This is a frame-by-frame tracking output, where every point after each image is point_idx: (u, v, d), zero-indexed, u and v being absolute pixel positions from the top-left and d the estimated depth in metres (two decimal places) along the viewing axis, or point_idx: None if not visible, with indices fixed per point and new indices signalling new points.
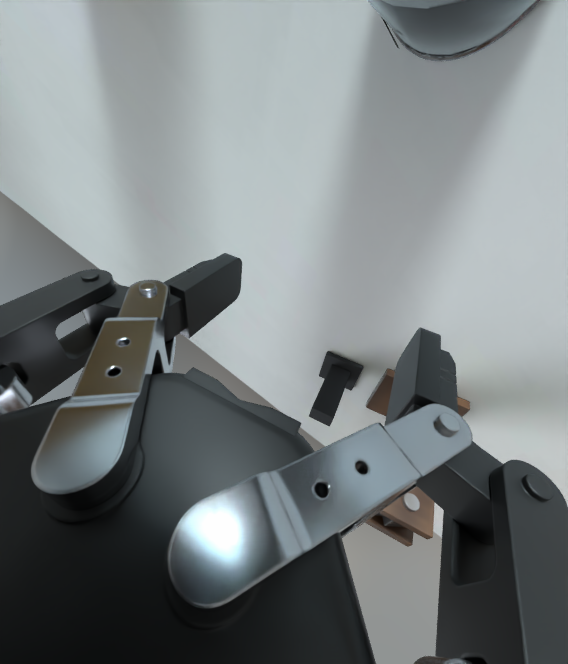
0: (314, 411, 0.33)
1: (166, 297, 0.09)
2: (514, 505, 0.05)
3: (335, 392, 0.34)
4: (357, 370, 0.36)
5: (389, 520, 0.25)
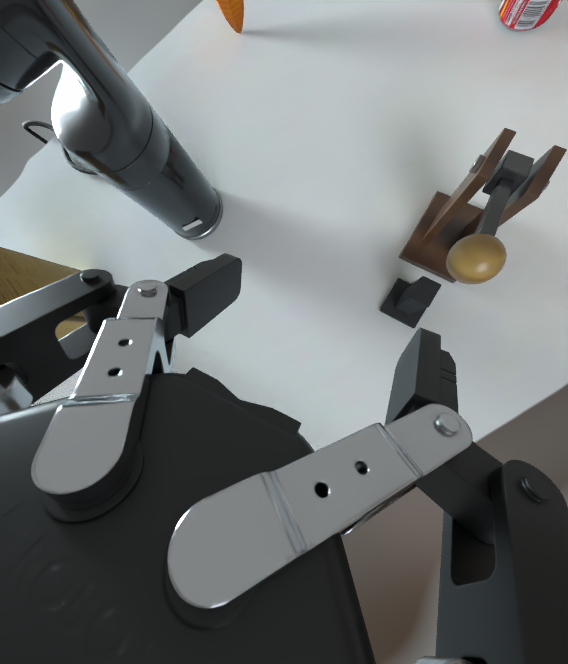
0: (417, 296, 0.30)
1: (166, 297, 0.09)
2: (514, 505, 0.05)
3: (409, 289, 0.33)
4: (401, 283, 0.38)
5: (508, 171, 0.22)
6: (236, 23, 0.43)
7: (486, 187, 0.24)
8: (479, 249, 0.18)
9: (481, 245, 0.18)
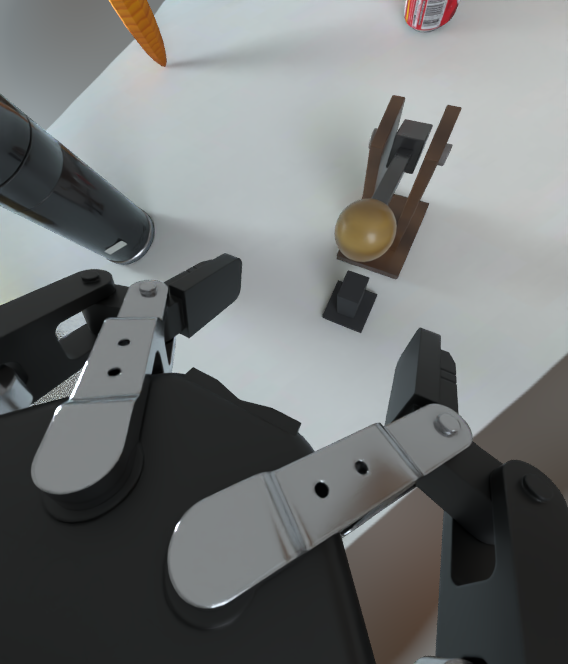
0: (344, 293, 0.26)
1: (166, 297, 0.09)
2: (514, 505, 0.05)
3: None
4: (341, 285, 0.34)
5: (403, 138, 0.20)
6: (158, 57, 0.44)
7: (388, 161, 0.21)
8: (357, 214, 0.15)
9: (359, 209, 0.15)
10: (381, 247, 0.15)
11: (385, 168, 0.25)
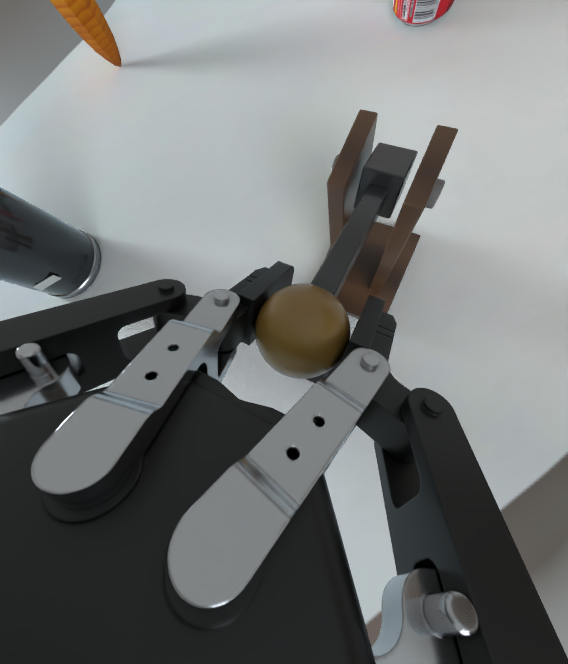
0: None
1: (234, 310, 0.09)
2: (410, 416, 0.07)
3: None
4: None
5: (373, 173, 0.14)
6: (109, 55, 0.38)
7: (356, 201, 0.15)
8: (279, 320, 0.09)
9: (282, 311, 0.09)
10: (323, 368, 0.09)
11: None
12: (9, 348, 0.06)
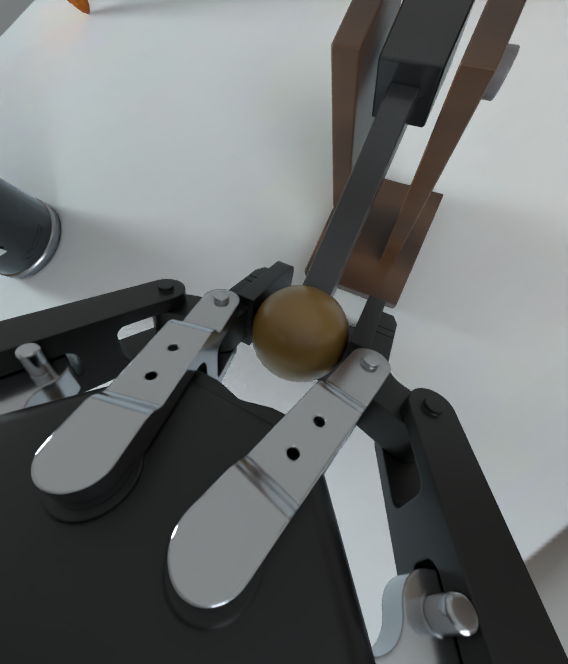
0: None
1: (234, 310, 0.09)
2: (411, 416, 0.07)
3: None
4: None
5: (395, 64, 0.09)
6: None
7: (374, 107, 0.11)
8: (267, 346, 0.09)
9: (270, 337, 0.09)
10: (319, 377, 0.10)
11: None
12: (9, 348, 0.06)
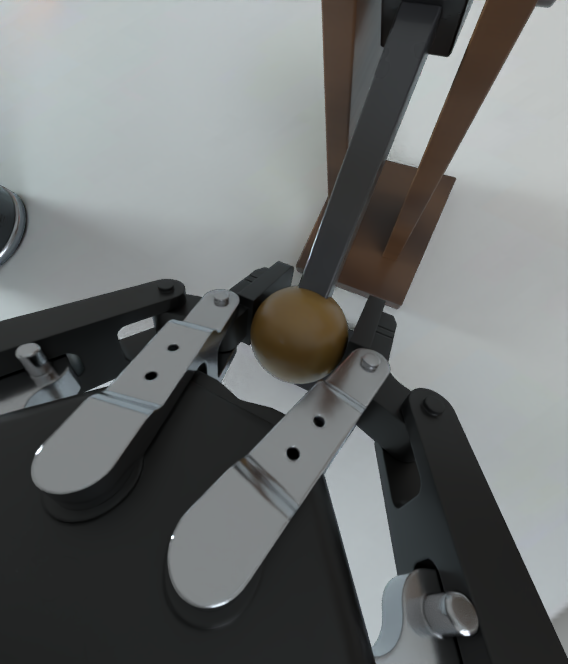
0: None
1: (234, 310, 0.09)
2: (410, 416, 0.07)
3: None
4: None
5: None
6: None
7: (382, 34, 0.08)
8: (264, 357, 0.09)
9: (264, 350, 0.09)
10: (319, 378, 0.10)
11: None
12: (8, 348, 0.06)
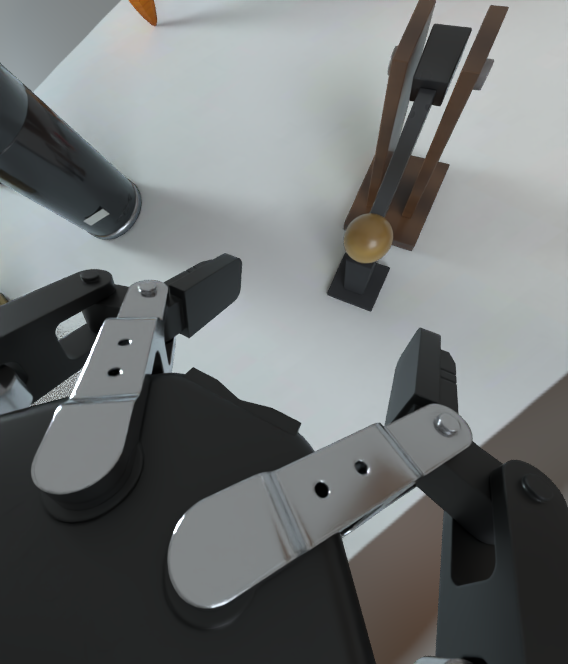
0: None
1: (166, 297, 0.09)
2: (514, 505, 0.05)
3: None
4: None
5: (422, 81, 0.17)
6: (147, 13, 0.40)
7: (410, 96, 0.19)
8: (355, 244, 0.19)
9: (356, 240, 0.19)
10: (378, 259, 0.20)
11: (404, 108, 0.21)
12: None
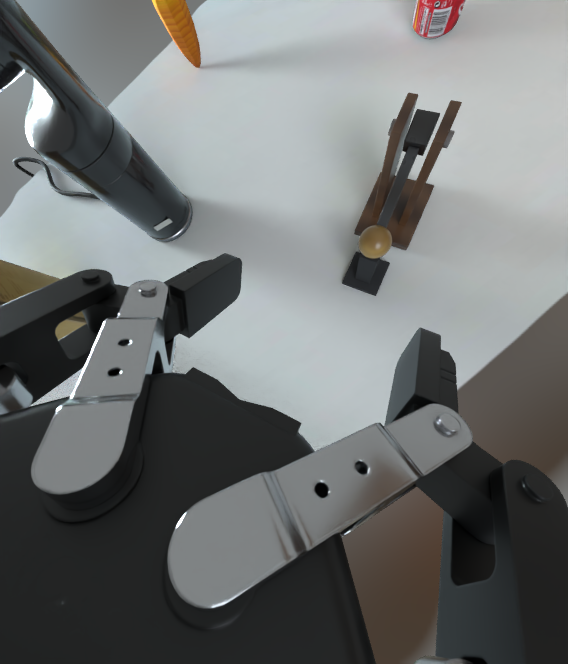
0: None
1: (166, 297, 0.09)
2: (514, 505, 0.05)
3: None
4: (358, 255, 0.40)
5: (410, 142, 0.27)
6: (194, 59, 0.50)
7: (403, 149, 0.28)
8: (367, 246, 0.29)
9: (367, 243, 0.29)
10: (382, 255, 0.30)
11: (399, 152, 0.31)
12: None
